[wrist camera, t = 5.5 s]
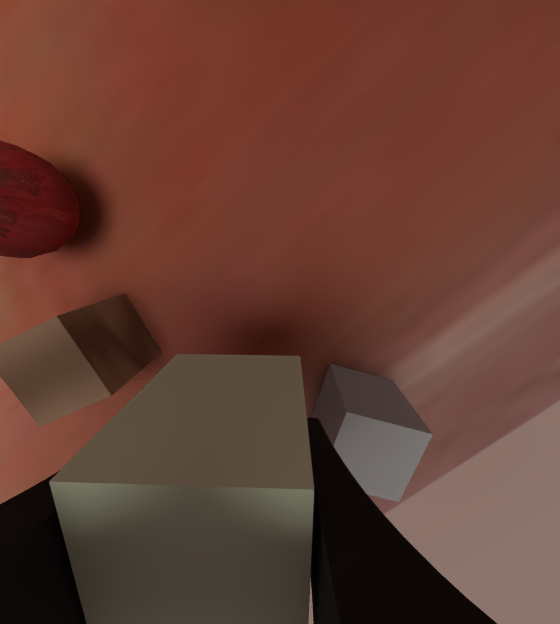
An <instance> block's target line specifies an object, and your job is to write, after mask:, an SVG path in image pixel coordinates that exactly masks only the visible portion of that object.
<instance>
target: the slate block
mask: <svg viewBox="0 0 560 624" xmlns="http://www.w3.org/2000/svg"><path fill="white" fill-rule="evenodd" d="M311 418H318V419H319V420H320V422H321V424H322V426H323V428H324V430H325V432H326V434H327V436H328V437H329V439H330V441H331V443H332V444H333V446H334V448H335V449H336V451H337V453H338V454H339V456H340V457H341V459H342V460H343V462H344V463H345V465H346V466H347V468H348V469H349V471H350V472H351V474H352V475H353V476H354V478H355V479H356V480H357V482H358V483H359V484H360V486H361V487H362V488H363V490H364V491H365V492H366V494H368V495H372V496H376V497H380V498H384V499H388V500H392V501H396V502H399V501H400V499H401V497H402V495H403V493H404V491H405V489H406V487H407V485H408V483H409V481H410V479H411V477H412V475H413V473H414V471H415V469H416V467H417V465H418V463H419V461H420V459H421V457H422V455H423V453H424V451H425V449H426V447H427V445H428V443H429V441H430V439H431V437H432V436H433V434H432V432H431V431H430V430H429V428H428V427H427V426H426V424H425V423H424V422H423V420H422V419H421V418H420V416H419V415H418V414H417V412H416V411H415V410H414V408H413V407H412V406H411V404H410V403H409V402H408V400H407V399H406V398H405V396H404V395H403V394H402V392H401V391H400V390H399V388H398V387H397V386H396V384H395V383H394V382H393V380H390V379H386V378H382V377H379V376H375V375H371V374H367V373H364V372H360V371H356V370H352V369H349V368H345V367H341V366H337V365H334V364H330V365H329V368H328V371H327V374H326V376H325V379H324V382H323V385H322V388H321V390H320V393H319V396H318V399H317V402H316V405H315V407H314V410H313V413H312V416H311Z"/></svg>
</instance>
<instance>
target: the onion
mask: <svg viewBox="0 0 560 624" xmlns="http://www.w3.org/2000/svg"><path fill="white" fill-rule="evenodd" d="M79 217H80V205H79V202H78V200H77V197H76V195H75V192H74V190H73V188H72V186H71V185H70V184H69V183H68V182H67V181H66V179H65V178H64V177H63V176H62V175H61V174H60V173H59V172H58V171H57V170H56V169H55V168H54V166H53V165H52V164H51V163H49V162H47V161H46V160H44V159H42V158H41V157H39V156H37V155H35V154H33V153H31V152H29V151H27V150H25V149H22V148H20V147H18V146H16V145H13V144H10V143H6V142H3V141H0V256H7V257H16V258H32V257H35V256H38V255H42V254H45V253H49V252H53V251H57V250H58V249H59V248H60V247H61V246H62V245H64V244H65V243H66V242H67V241H68V240H69V239H71V238H72V237H73V236H74V233H75V231H76V229H77V227H78V225H79Z"/></svg>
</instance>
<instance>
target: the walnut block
mask: <svg viewBox="0 0 560 624" xmlns="http://www.w3.org/2000/svg"><path fill="white" fill-rule="evenodd" d="M160 353H161V351H160V349H159V348H158V346H157V345H156V343H155V341H154V340H153V338H152V336H151V335H150V333H149V331H148V330H147V328H146V327H145V325H144V323H143V322H142V320H141V318H140V317H139V315H138V313H137V312H136V310H135V309H134V307H133V305H132V304H131V302H130V300H129V299H128V297H127V295H126V294H123V295H120V296H117V297H114V298H111V299H108V300H105V301H102V302H99V303H96V304H93V305H89V306H86V307H83V308H80V309H77V310H74V311H71V312H68V313H65V314H62V315H59V316H56V317H54V318H52V319H50V320H48V321H46V322H44V323H42V324H40V325H38V326H36V327H34V328H32V329H30V330H28V331H26V332H24V333H22V334H20V335H18V336H16V337H14V338H12V339H10V340H8V341H6V342H4V343H2V344H0V376H1V378H2V379H3V380H4V381H5V383H6V384H7V385H8V386H9V388H10V389H11V390H12V392H13V393H14V394H15V395H16V397H17V398H18V399H19V400H20V402H21V403H22V404H23V406H24V407H25V408H26V409H27V411H28V412H29V413H30V414H31V416H32V417H33V418H34V419H35V421H36V422H37V423H38V425H39V426H43V425H45V424H47V423H50V422H52V421H54V420H57V419H59V418H61V417H64V416H66V415H68V414H71V413H73V412H75V411H78V410H80V409H82V408H84V407H87V406H89V405H91V404H94V403H96V402H98V401H101V400H103V399H105V398H108V397H110V396H112V395H113V394H114V393H115V392H116V391H118V390H119V389H120V388H121V387H122V386H123V385H124V384H126V383H127V382H128V381H129V380H130V379H131V378H132V377H133V376H135V375H136V374H137V373H138V372H139V371H140V370H141V369H143V368H144V367H145V366H146V365H147V364H148V363H149V362H151V361H152V360H153V359H154V358H155V357H156V356H157V355H158V354H160Z"/></svg>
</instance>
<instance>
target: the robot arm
mask: <svg viewBox="0 0 560 624" xmlns="http://www.w3.org/2000/svg"><path fill="white" fill-rule="evenodd" d="M307 424H308V434H309V444H310V453H311V463H312V472H313V482H314V508H313V530H312V552H311V574H310V577H311V587H312V602H313V618H314V619H313V620H314V624H497V623H496V622H495V621H493V620H492V619H491V618H490V617H489V616H487V615H486V614H485V613H484V612H483V611H482V610H480V609H479V608H478V607H477V606H476V605H474V604H473V603H472V602H471V601H470V600H469V599H467V598H466V597H465V596H464V595H463V594H462V593H461V592H460V591H459V590H458V589H456V588H455V587H454V586H453V585H452V584H451V583H450V582H449V581H448V580H447V579H446V578H444V577H443V576H442V575H441V574H440V573H439V572H438V571H437V570H436V569H435V568H434V567H433V566H432V565H431V564H430V563H429V562H428V561H427V560H426V559H425V558H424V557H423V556H422V555H421V554H420V553H419V552H418V551H417V550H416V549H415V548H414V547H413V546H412V545H411V544H410V543H409V542H408V541H407V540H406V539H405V538H404V537H403V535H402V534H401V533H400V532H399V531H398V530H397V529H396V528H395V527H394V526H393V524H392V523H391V522H390V521H389V520H388V519H387V518H386V517H385V515H384V514H383V513H382V512H381V511H380V510H379V508H378V507H377V506H376V505H375V504H374V502H373V501H372V500H371V499H370V497H369V496H368V495H367V494H366V492H365V491H364V490H363V488H362V487H361V486H360V484H359V483H358V482H357V480H356V479H355V478H354V476H353V475H352V474H351V472H350V471H349V469H348V468H347V466H346V465H345V463H344V462H343V460H342V459H341V457H340V456H339V454H338V453H337V451H336V449H335V448H334V446H333V444H332V443H331V441H330V439H329V437H328V436H327V434H326V432H325V430H324V428H323V426H322V424H321V422H320V420H319V419H318V418H307ZM58 472H59V471H58ZM58 472H57V473H58ZM57 473H55V474H54V475H52V476H50V477H48V478H47V479H45V480H43V481H42V482H40V483H38V484H36V485H35V486H33V487H31V488H29V489H28V490H26V491H24V492H22V493H20V494H18V495H17V496H15V497H13V498H11V499H9V500H7V501H6V502H4V503H2V504H0V624H86V620H85V616H84V612H83V609H82V605H81V601H80V597H79V593H78V590H77V586H76V582H75V578H74V574H73V571H72V567H71V563H70V559H69V555H68V552H67V548H66V544H65V540H64V537H63V533H62V529H61V525H60V521H59V518H58V514H57V510H56V506H55V502H54V499H53V495H52V491H51V487H50V483H49V481H50V480H51V479H52V478H53V477H54V476H55V475H56V474H57Z"/></svg>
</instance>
